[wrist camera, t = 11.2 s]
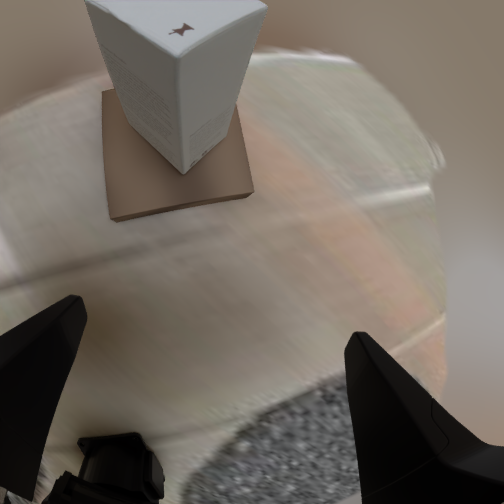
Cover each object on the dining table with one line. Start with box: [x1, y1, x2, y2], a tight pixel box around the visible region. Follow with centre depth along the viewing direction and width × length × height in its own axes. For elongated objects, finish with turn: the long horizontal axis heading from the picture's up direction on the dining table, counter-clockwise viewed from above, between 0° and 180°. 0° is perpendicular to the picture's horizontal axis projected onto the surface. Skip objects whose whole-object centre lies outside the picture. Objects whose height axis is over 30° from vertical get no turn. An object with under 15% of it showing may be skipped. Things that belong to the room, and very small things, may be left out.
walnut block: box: [102, 89, 254, 222], centre depth 19 cm, size 10×10×3 cm
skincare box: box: [84, 0, 268, 174], centre depth 12 cm, size 6×4×12 cm
